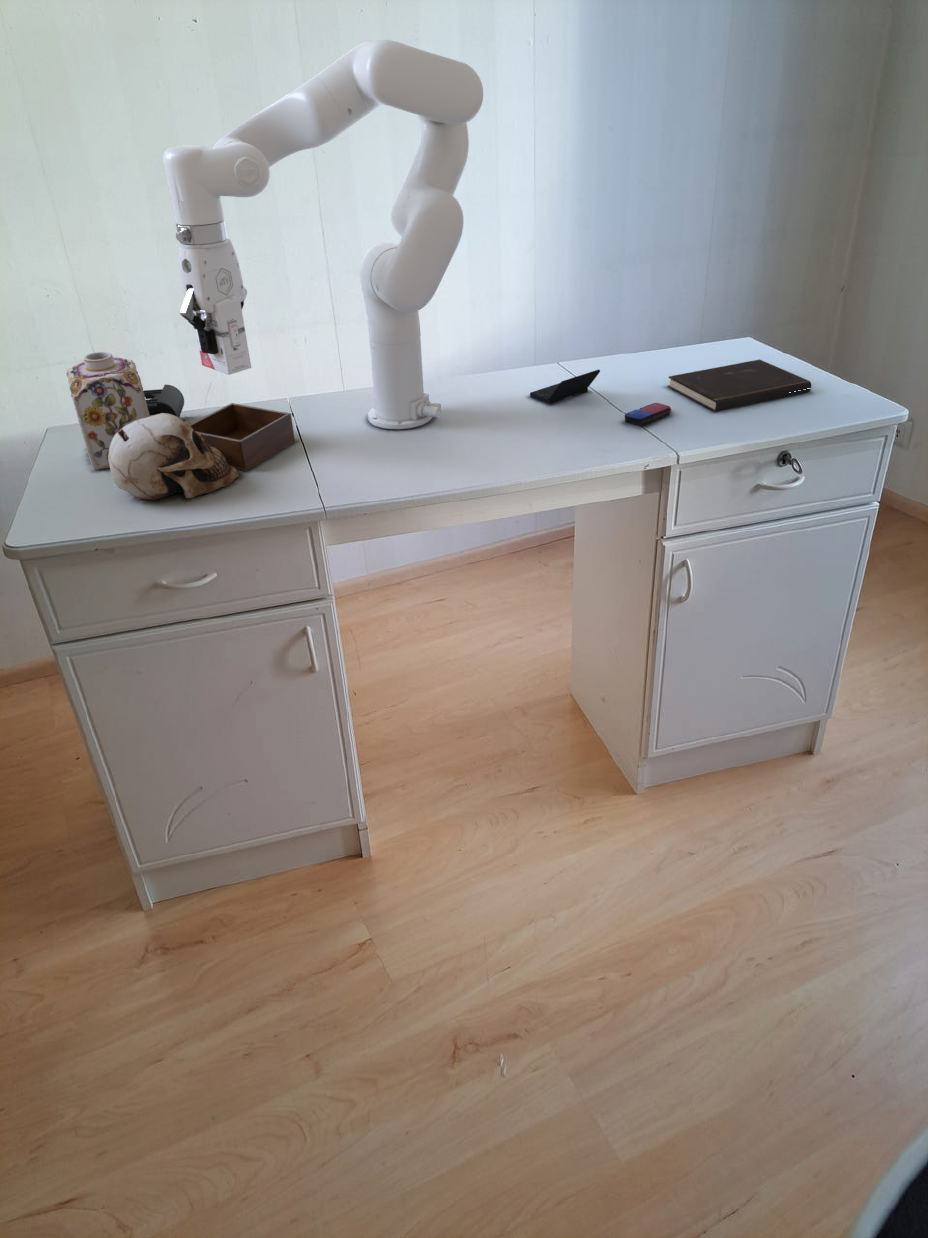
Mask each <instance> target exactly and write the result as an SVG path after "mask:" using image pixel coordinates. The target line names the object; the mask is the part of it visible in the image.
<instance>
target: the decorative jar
mask: <svg viewBox="0 0 928 1238" xmlns="http://www.w3.org/2000/svg"><path fill="white" fill-rule="evenodd" d="M66 378H67V379H68V380H67V381H68V384H69V385H68V386H69V391H70V397H71V398H72V399H71V400H72V401H73V405H74V410H75V413H76V417H77V419H78V423H79V426H80V431H81V434H82V437H83V441H84V445H85V448H86V452H87V454H88V458H89V461H90V465H91V468H92V470H94V471H100V470H105V469H110V464H109V460H108V455H109V448H110V444H111V442H112V439H113V437H114V436H115V434H116V433H117V432H118V431H119V430H121V429H122V428H123V427H125V426H126V425H128V424H130V423H132V422H134V421H136V420H139V419H143V418H147V417H149V416H150V415H149V411H148V407H147V403H146V400H147V399H146V398H145V396H144V392H143V391H144V389H143V388H144V387H143V384H142V380H141V377H140V375H139V372H138V370H137V365H136V363H135V362H134V361H133V360H132V359H128V358H123V357H118V356H117V357H114V355H113V354H112V353H111V352H107V351H96V352H91V353H88V354H86V355H84V356H83V361H82V362H80V363H78V364H76V365H73V366H72V367H69V368H68V369H67V370H66Z"/></svg>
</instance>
